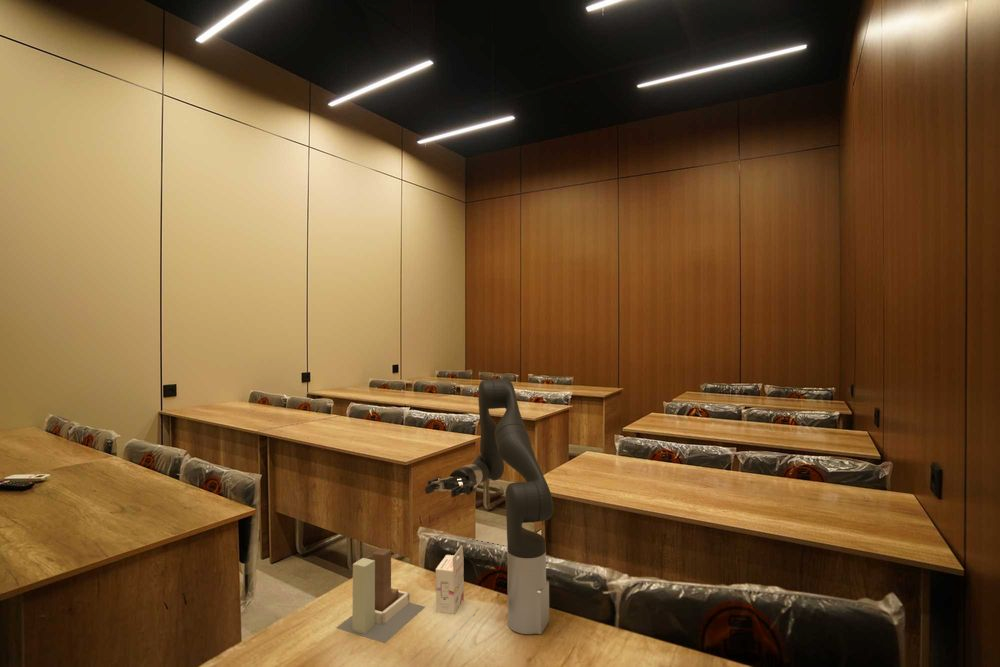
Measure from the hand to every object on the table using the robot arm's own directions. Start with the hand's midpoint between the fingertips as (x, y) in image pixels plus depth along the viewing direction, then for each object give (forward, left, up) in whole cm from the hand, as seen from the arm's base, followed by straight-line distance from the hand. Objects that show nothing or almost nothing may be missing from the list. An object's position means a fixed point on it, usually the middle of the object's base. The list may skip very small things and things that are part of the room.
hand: (439, 492), depth 135 cm
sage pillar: (+3, +28, -24) cm, 37 cm away
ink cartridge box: (-10, +11, -25) cm, 29 cm away
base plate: (+2, +23, -25) cm, 34 cm away
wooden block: (+3, +20, -24) cm, 31 cm away
